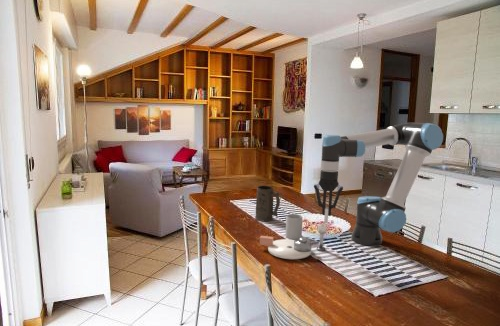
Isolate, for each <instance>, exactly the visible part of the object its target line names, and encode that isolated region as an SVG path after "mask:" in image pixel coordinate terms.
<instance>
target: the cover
mask: <svg viewBox="0 0 500 326" xmlns="http://www.w3.org/2000/svg"><path fill="white" fill-rule="evenodd" d="M293 240H294V249H295V250H296V251H299V252H309V251H311V252H312V246H313V245H312V244H313V243H312V240H310V239H308V237H305V236H302V237H300V238H299V239H293Z"/></svg>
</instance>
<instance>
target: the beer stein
mask: <svg viewBox="0 0 500 326" xmlns="http://www.w3.org/2000/svg"><path fill="white" fill-rule="evenodd" d="M279 195H280V194H279V192H278V191H276V192H274V188H273V187H272V186H270V185H259V186H257V188H256V198H255V199H256V200H255V201H256V204H255V220H257V221H259V222H270V221H273V220H274V217H273V216H275V217H278V214H279V213H278V210H279V208H280V205H281V201H280V196H279ZM274 197H275V199H276V203H275V207H274Z"/></svg>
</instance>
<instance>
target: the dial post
mask: <svg viewBox="0 0 500 326" xmlns="http://www.w3.org/2000/svg"><path fill="white" fill-rule="evenodd" d="M316 228H317V232H318V233H319V245H318V246H317V247H316V250H317V252H318V251H319V252H325V251H326V247H325V246H324V235H325V234H326V232H327V231H328V227H327V225H325V223H324V224H323V223H320V224H319V225H318V226H317V227H316Z"/></svg>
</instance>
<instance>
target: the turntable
mask: <svg viewBox="0 0 500 326" xmlns="http://www.w3.org/2000/svg"><path fill="white" fill-rule="evenodd" d="M294 240H295V239H289V238H287V239H286V238H285V239H276V240H274V236H266V235H260V237H259V245H260V246H261V245H262V246H267V250H268V253H269V254H271V255H272V256H275V257H277V258H281V259H285V260H300V259H305V258H308V257H310V256H311V254H312V250H311V251H309V252H299V251H296V250H295V249H294Z"/></svg>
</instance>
